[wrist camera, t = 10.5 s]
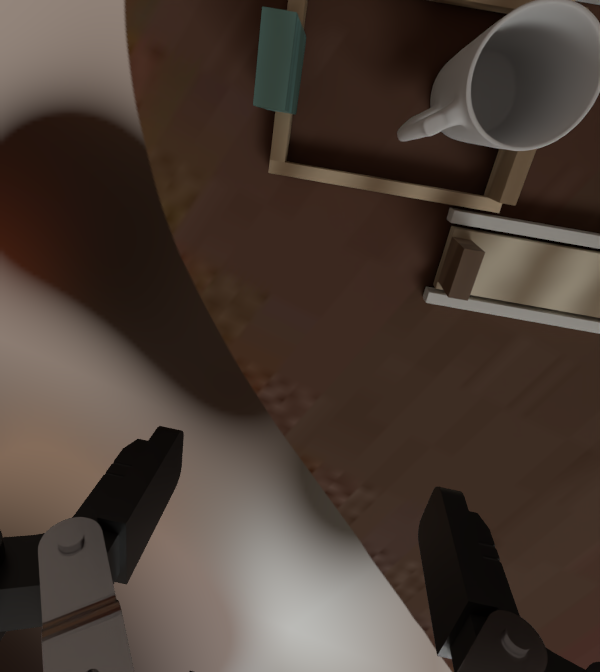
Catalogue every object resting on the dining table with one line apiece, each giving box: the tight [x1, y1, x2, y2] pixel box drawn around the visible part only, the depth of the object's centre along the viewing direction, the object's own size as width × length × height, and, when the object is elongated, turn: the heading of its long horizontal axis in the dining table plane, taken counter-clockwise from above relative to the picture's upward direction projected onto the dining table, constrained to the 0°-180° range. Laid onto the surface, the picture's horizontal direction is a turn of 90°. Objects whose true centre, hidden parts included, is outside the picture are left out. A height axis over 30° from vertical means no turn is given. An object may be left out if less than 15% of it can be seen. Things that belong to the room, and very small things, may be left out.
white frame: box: [253, 0, 589, 213], centre depth 29 cm, size 19×14×8 cm
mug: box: [397, 0, 600, 151], centre depth 27 cm, size 10×7×12 cm, turn 114°
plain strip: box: [433, 225, 600, 318], centre depth 35 cm, size 17×5×5 cm, turn 82°
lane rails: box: [423, 0, 600, 334], centre depth 33 cm, size 18×24×2 cm
